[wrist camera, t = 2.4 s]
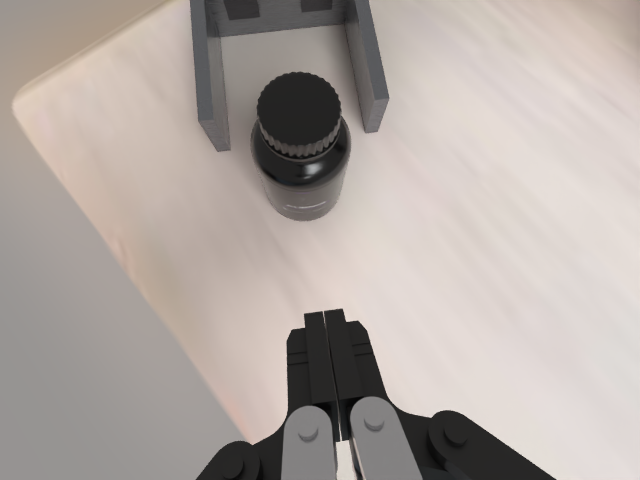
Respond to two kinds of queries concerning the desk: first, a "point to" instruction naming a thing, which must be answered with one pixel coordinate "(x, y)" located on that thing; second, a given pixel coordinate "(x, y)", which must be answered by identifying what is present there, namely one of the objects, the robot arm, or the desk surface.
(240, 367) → the desk surface
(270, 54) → the desk surface
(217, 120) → the bracket
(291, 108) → the supplement bottle
